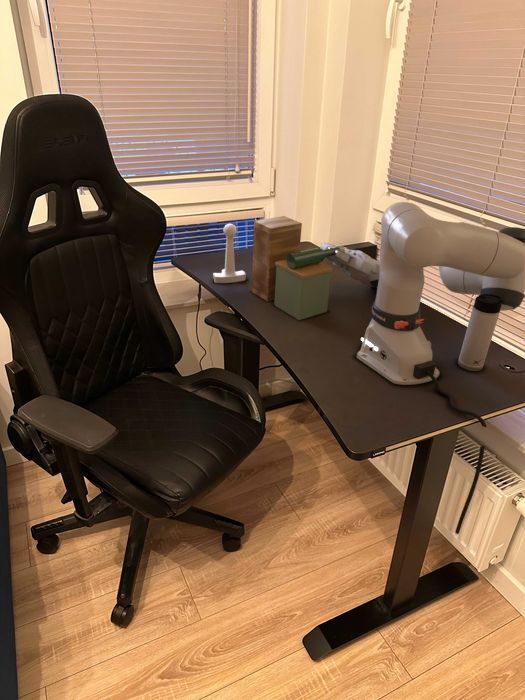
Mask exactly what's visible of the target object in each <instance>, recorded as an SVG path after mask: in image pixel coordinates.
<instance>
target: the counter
mask: <svg viewBox="0 0 525 700" xmlns="http://www.w3.org/2000/svg"><path fill="white" fill-rule="evenodd" d="M275 265H276V266H277V268H276V285H275V300H274V304H273V305H274V306H275V307H276V308H278V309H280V310H281V311H283V312H285V313H286V314H288V315H290V316H291V317H293V318H294V319H296V320H298V321H301V320H304V319H307V318H312V317H314V316H317V315H320V314H324V313H328V305H329V298H330V297H329V296H330V289H331V279H332V272H334V268H333V267H332V266H329V265H327V264H326V263H323V262H319V263H315V264H311V265H307V266H302V267H298V268H294V269H290V268H289V267H288V265H287V262H286V260H282V261H278V262H275Z"/></svg>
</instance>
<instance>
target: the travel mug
mask: <svg viewBox="0 0 525 700" xmlns="http://www.w3.org/2000/svg"><path fill="white" fill-rule="evenodd" d="M504 302H505V299H504V298H502V297H500V296H497V295H492V294H482V295H476V297H475V298H474V303H473V306H472V309H471V313H470V316H469V320H468V322H467V323H468V324H467V327H466V331H465V335H464V339H463V342H462V346H461V348H460V352H459V356H458V359H457V364H458V366H459V367H460V368H462V369H464V370H466V371H469V372H480V371H481V370H483V369H484V365H485V361H486V358H487V355H488V352H489V348H490V346H491V342H492V339H493V336H494V332H495V329H496V325H497V322H498V319H499V316H500V313H501V311H500V308H501V306H502V304H503V303H504Z"/></svg>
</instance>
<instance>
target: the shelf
mask: <svg viewBox="0 0 525 700" xmlns="http://www.w3.org/2000/svg"><path fill="white" fill-rule="evenodd" d="M302 227H303V223H302V222H300V221H298V220H296V219H293V218H290V217H288V216H285V215H282V216H278V217H277V216H276V217H271V218H263V219H258V220H254V221H253V239H252V240H253V241H252V243H253V245H252V274H251V275H252V276H251V292H252V293H253V294H255V295H257V296H258V297H259V298H261V299H262V300H264V301H266V302H272V301H275V285H276V268H277V266H276V265H275V262H278V261H282V260H286V258H287V256H288V254H292V253H297V252H301V241H302V240H301V239H302Z"/></svg>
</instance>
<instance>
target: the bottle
mask: <svg viewBox="0 0 525 700" xmlns="http://www.w3.org/2000/svg"><path fill="white" fill-rule="evenodd" d="M335 246H336V245H335ZM320 248H321V247H315V248H310V249H306V250H302V251H301V250H300V252H297V253H292V254H288V256H287V258H286V262H287V265H288V267H289V268H290V269H294V268H298V267H302V266H307V265H311V264H315V263H319V262H321V263H323V261H324V260H325V259H327V258H326V257H330V256H335V255H334V252H335V250H338V251H341V252H342V253H345V248H346V247H345V246H344V245H342V244H341V245H337V246H336V247H335V248H330V249H326V250H323V249H320Z"/></svg>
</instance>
